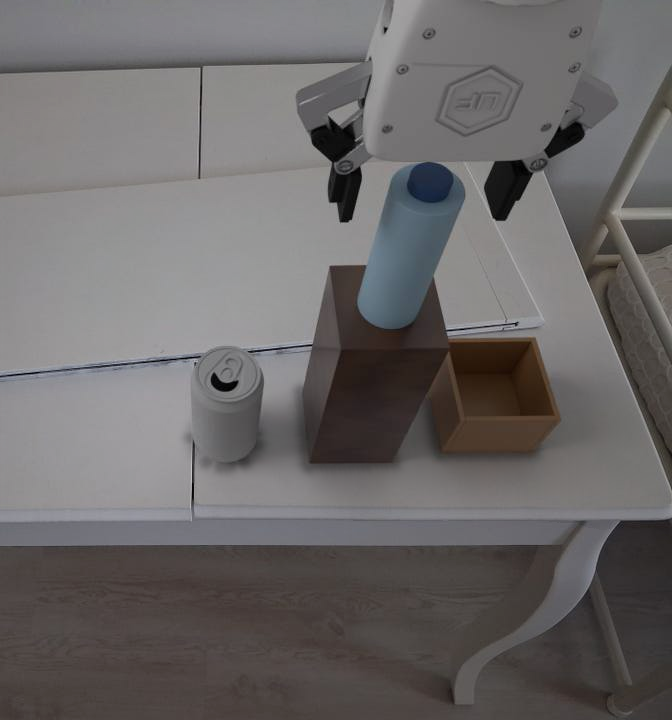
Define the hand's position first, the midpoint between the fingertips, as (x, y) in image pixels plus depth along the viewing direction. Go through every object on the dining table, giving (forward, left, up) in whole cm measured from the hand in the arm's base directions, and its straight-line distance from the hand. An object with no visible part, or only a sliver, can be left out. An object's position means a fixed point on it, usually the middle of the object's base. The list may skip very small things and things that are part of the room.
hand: (417, 205), depth 46 cm
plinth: (0, 0, -30) cm, 30 cm away
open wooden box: (-12, -6, -30) cm, 33 cm away
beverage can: (+11, +5, -31) cm, 33 cm away
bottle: (0, 0, -10) cm, 10 cm away
